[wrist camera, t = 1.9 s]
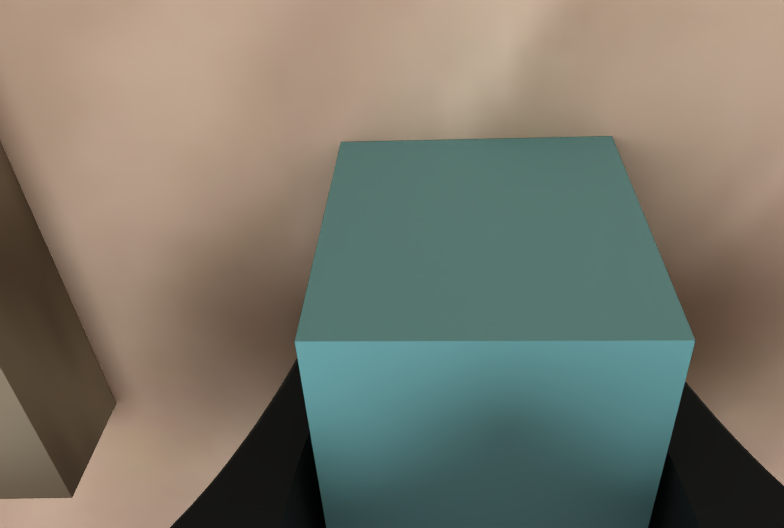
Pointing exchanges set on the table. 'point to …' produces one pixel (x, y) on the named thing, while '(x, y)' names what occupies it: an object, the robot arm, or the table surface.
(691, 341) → the teal brick
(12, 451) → the walnut base brick
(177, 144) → the table surface
